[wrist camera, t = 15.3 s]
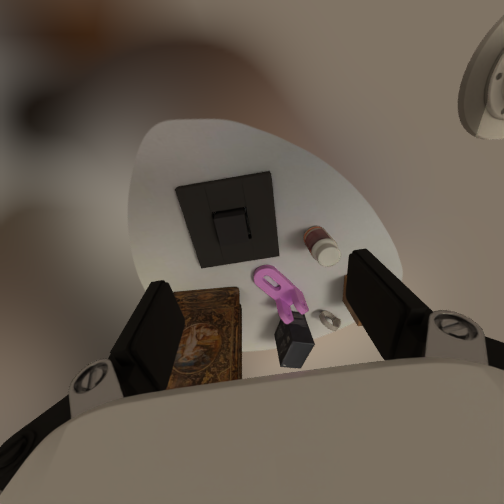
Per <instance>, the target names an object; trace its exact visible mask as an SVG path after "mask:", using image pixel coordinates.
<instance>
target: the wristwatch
mask: <svg viewBox="0 0 504 504" xmlns="http://www.w3.org/2000/svg"><path fill="white" fill-rule="evenodd" d="M325 315H326V316H328V317H329V318H330V319H331V320H332V322H333V325H332V324H330V323H329V322H328V321H327V320H326V319H325ZM333 316H334V315H333V314H332V313H330V312H328V311H323V312H322V313H321V314H320V315H319V317H320V320H321V322H322V323H323V325H324V326H326V327H327V328H328V329H330V330H332V331H336V330H337V329H338V328H339V327H340V325H341V321H340V319H339V318H337V317H335V316H334V317H333ZM332 317H333V318H332Z"/></svg>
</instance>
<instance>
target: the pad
mask: <svg viewBox="0 0 504 504" xmlns="http://www.w3.org/2000/svg"><path fill="white" fill-rule="evenodd" d="M214 223H215V227H216V231H217V235H218V239H219V243H220V246H225V245H231V244H237V243H244V242H249V235H248V228H247V222H246V217H245V211H244V207H241V208H235V209H229V210H223V211H217V212H216V213H215V216H214Z"/></svg>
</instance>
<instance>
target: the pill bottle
mask: <svg viewBox="0 0 504 504" xmlns="http://www.w3.org/2000/svg"><path fill="white" fill-rule="evenodd" d="M303 238H304V243H305V244H306V246H307V248H308V250H309V251H310V253H311V255H312V256H313V258H314V259H315V260H317V261H318V262H319V264H320V265H322V266H325V267H329V266H332V265H334V264H336V263H337V262H338V261H339V259H340V257H341V253H340V251H339V249H338V247H337V243H336V242H335V241H334V240H333V239H332V237H331V236H330V235H329V234H328V233H327V232H326V231H325V229H323V228H322V227H320V226H314V227H311V228H309V229H308V230H307V231H306V232H305V234H304V237H303Z"/></svg>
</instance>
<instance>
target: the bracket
mask: <svg viewBox="0 0 504 504" xmlns="http://www.w3.org/2000/svg"><path fill="white" fill-rule="evenodd" d="M266 275H268V276H270V277H271V278H272V279H273V280H274V281H276V282H277V283H278V284H279V285H280V286H279V287H274V286H272V285H271V284H270V283H269V282H268V281H266V280H265V279H264V278H263V277H264V276H266ZM254 282H255V284H256V285H257V286H258V287H259V288H261V289H262V290H263V291H264V292H265V293H267V294H268V295H269V296H270V297H272V298H273V299H274V300H275V301H276V305H277V309H278V314H279V316H280V318H281V319H282V321H283V322H284V323H285V324H289V323H291V322H292V321H293V320H294V319H293V315H292V311H291V308H290V305H292V304H294V306H295V308H296V309H297V310H298V312H299V313H301V314H302V315H303V314H305V313H306V312H308V311H309V309H308V306H307V304H306V301H305V298H304V296H303V293H302V292H301V291H300V290H299V289H298V288H297V287H296V286H295V285H293V284H292V283H291V282H290V281H289V280H288V279H287V278H286V277H285V276H284V275H283V274H281V273H280V272H279V271H278V270H277V269H276V268H275V267H273V266H271V265H262V266H260V267H258V268H257V269H256V270H255V272H254Z"/></svg>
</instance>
